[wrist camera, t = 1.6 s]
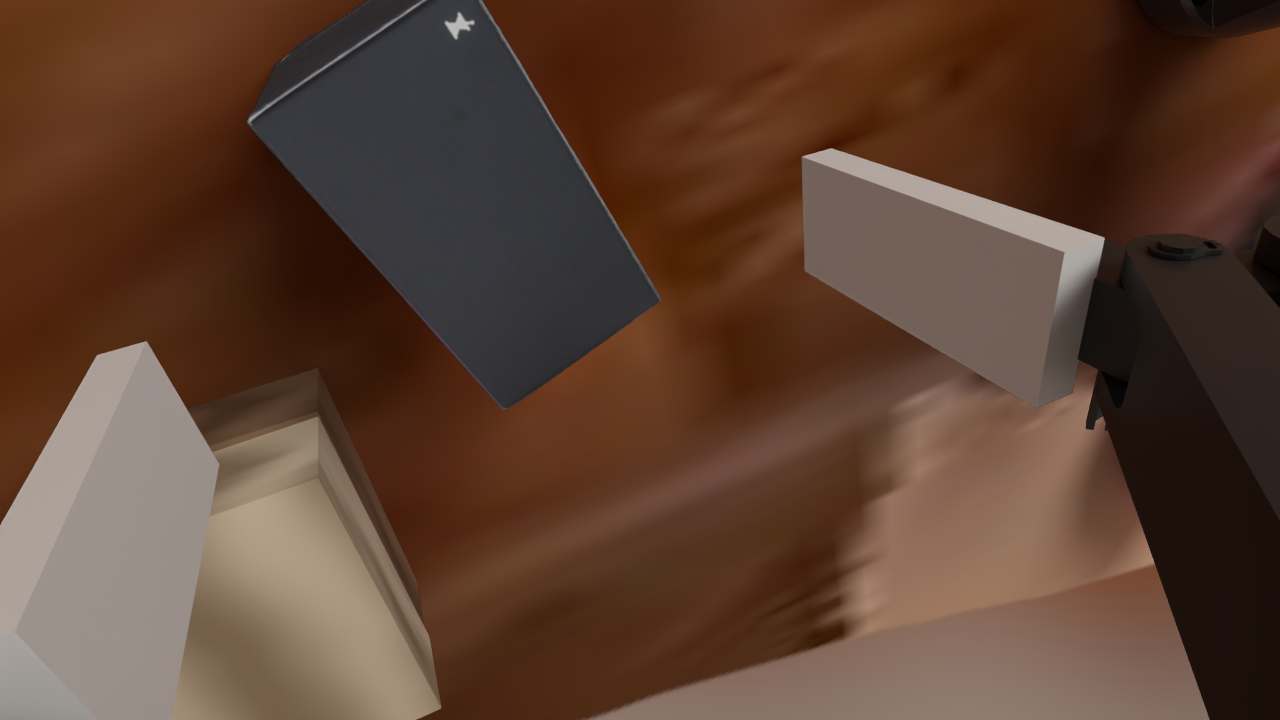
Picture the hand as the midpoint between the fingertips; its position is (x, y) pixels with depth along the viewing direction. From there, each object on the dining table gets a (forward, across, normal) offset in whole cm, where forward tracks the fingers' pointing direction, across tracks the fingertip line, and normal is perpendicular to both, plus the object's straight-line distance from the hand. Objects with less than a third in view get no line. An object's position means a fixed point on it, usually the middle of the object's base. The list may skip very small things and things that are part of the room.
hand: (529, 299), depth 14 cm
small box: (+16, 0, 0) cm, 16 cm away
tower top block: (+12, +12, +14) cm, 22 cm away
